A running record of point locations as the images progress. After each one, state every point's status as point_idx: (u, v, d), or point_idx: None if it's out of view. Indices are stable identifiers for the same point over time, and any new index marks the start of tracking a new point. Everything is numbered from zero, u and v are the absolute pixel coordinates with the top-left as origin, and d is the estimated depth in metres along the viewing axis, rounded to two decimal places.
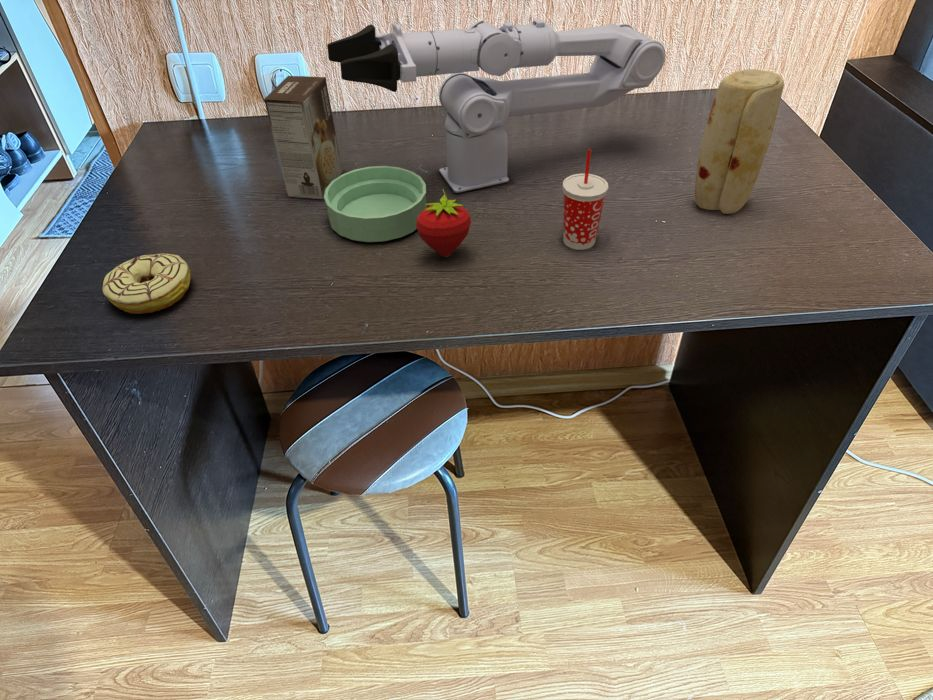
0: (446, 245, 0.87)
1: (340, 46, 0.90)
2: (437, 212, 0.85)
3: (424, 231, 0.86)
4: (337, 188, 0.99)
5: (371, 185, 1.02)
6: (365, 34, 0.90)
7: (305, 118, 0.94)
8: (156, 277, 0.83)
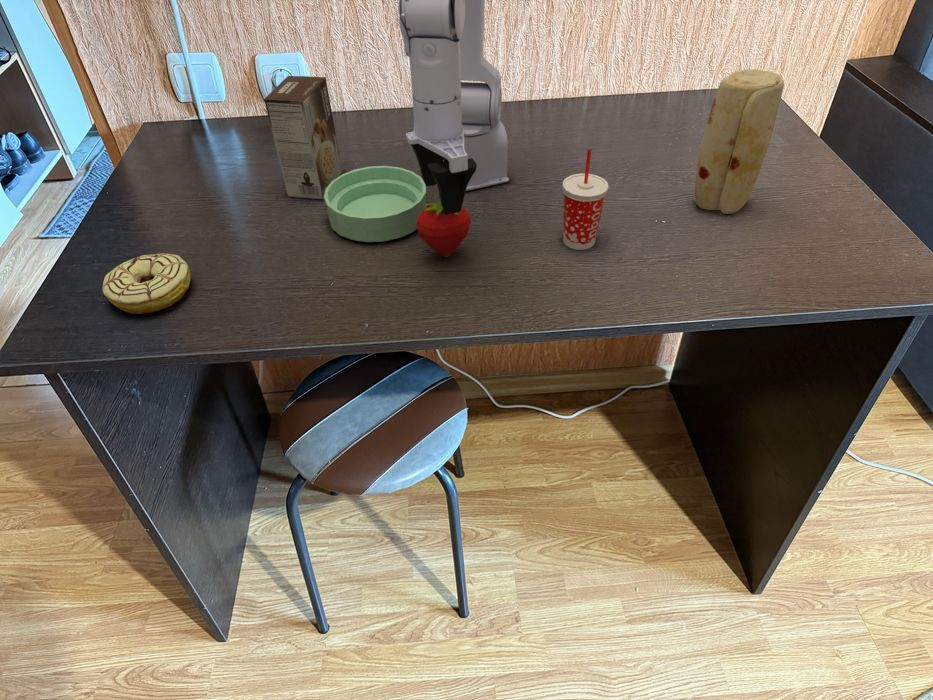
0: (446, 245, 0.87)
1: (427, 173, 0.86)
2: (437, 212, 0.85)
3: (424, 231, 0.86)
4: (337, 188, 0.99)
5: (371, 185, 1.02)
6: (415, 150, 0.83)
7: (305, 118, 0.94)
8: (156, 277, 0.83)
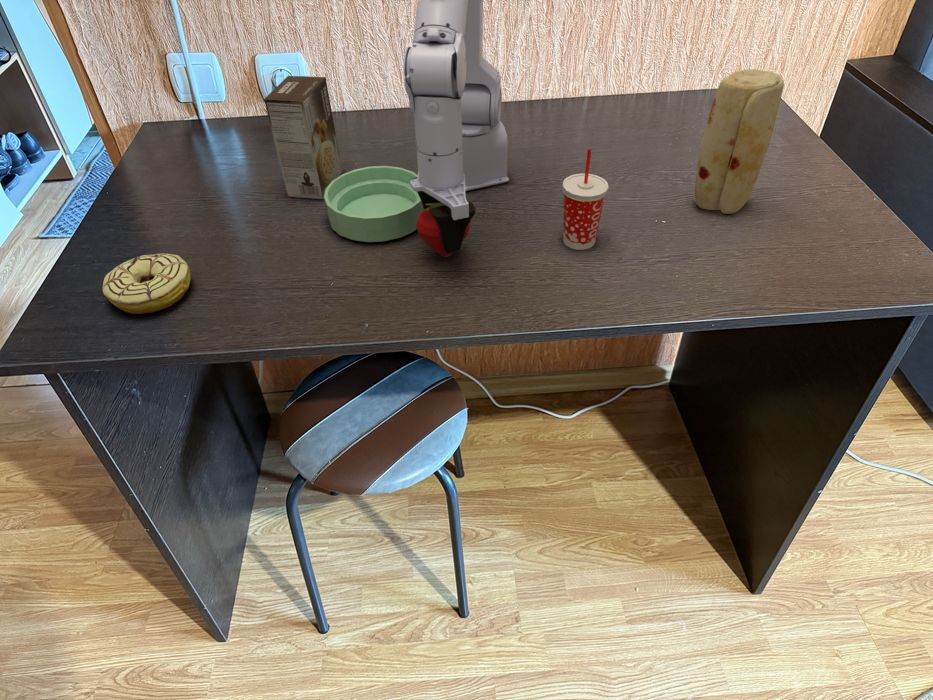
0: None
1: None
2: None
3: (424, 231, 0.86)
4: (337, 188, 0.99)
5: (371, 185, 1.02)
6: (420, 196, 0.87)
7: (305, 118, 0.94)
8: (156, 277, 0.83)
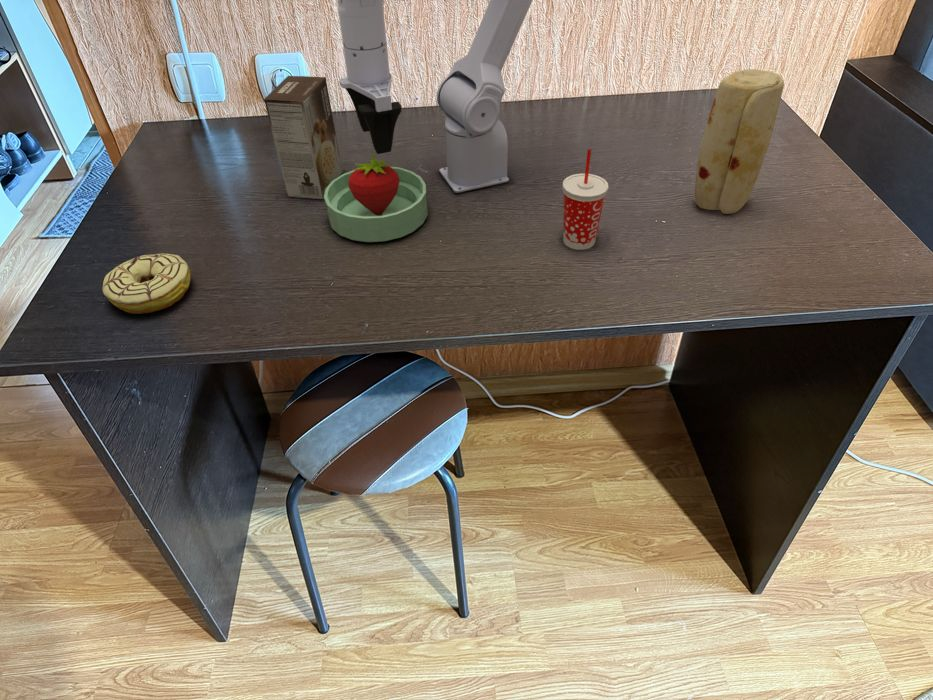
0: (376, 202, 0.95)
1: (363, 119, 0.96)
2: (366, 171, 0.92)
3: (355, 189, 0.93)
4: (337, 188, 0.99)
5: None
6: (351, 97, 0.93)
7: (305, 118, 0.94)
8: (156, 277, 0.83)
